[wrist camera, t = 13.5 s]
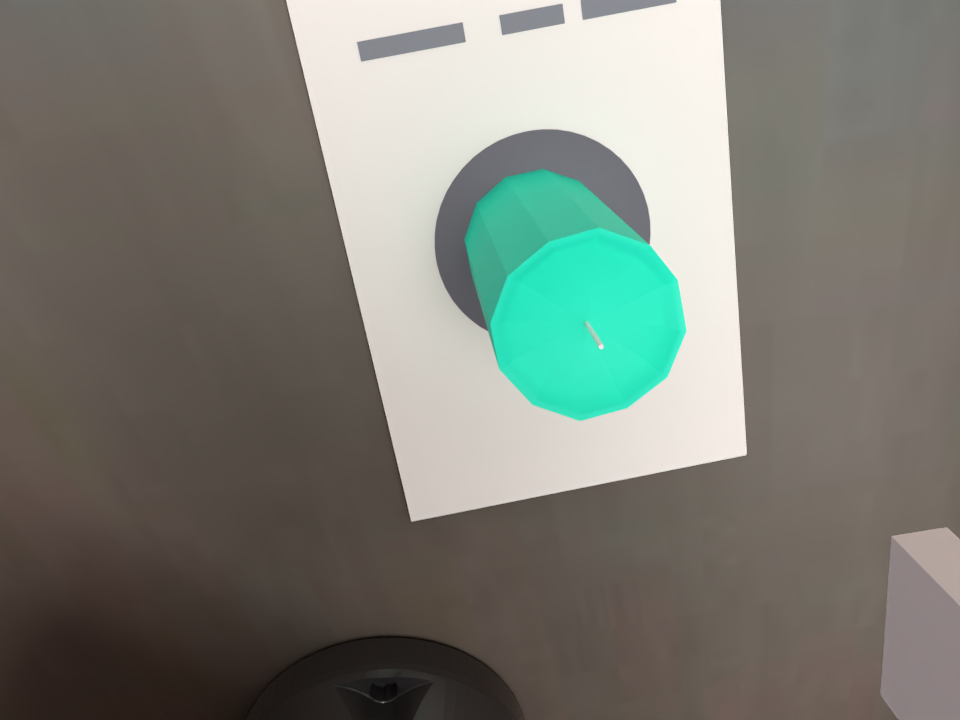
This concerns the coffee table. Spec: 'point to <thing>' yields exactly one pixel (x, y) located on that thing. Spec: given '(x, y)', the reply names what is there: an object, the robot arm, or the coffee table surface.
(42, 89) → the coffee table surface
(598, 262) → the candle
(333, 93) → the paper pad
